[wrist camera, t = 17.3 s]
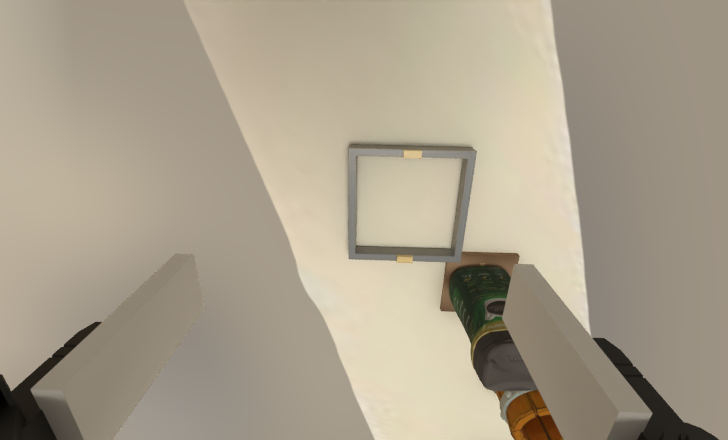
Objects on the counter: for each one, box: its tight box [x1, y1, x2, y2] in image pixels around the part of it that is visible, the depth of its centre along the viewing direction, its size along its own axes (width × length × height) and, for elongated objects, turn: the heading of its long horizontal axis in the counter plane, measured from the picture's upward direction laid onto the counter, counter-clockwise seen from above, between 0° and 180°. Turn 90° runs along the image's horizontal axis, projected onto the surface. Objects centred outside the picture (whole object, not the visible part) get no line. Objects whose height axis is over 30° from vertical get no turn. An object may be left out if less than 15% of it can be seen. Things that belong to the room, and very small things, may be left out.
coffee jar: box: [449, 266, 538, 391], centre depth 48 cm, size 10×8×19 cm
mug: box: [494, 390, 563, 440], centre depth 57 cm, size 11×16×15 cm, turn 119°
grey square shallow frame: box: [349, 145, 477, 263], centre depth 51 cm, size 17×17×3 cm
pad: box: [440, 252, 519, 312], centre depth 57 cm, size 11×11×1 cm
